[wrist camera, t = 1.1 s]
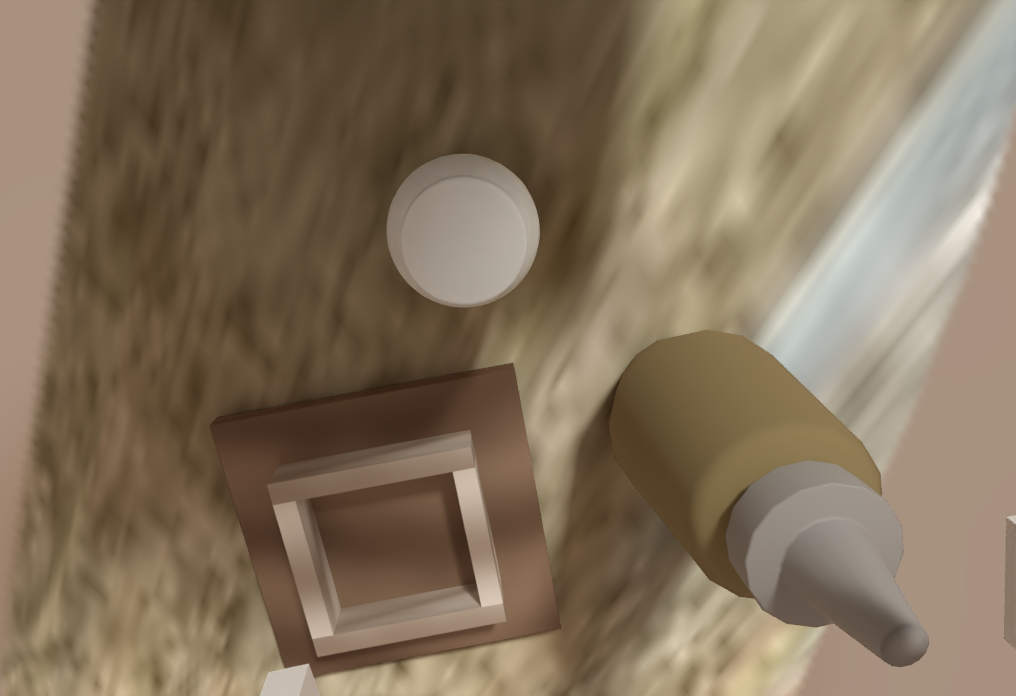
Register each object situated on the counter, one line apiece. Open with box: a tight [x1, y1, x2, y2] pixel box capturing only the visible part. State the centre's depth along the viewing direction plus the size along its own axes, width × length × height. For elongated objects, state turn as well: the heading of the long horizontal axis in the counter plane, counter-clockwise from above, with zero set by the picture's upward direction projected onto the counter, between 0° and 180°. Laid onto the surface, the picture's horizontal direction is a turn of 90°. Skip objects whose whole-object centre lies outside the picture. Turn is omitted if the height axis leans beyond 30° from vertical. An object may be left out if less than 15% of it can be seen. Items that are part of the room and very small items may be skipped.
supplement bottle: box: [387, 153, 540, 308], centre depth 26 cm, size 5×5×10 cm
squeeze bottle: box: [609, 330, 929, 667], centre depth 25 cm, size 8×8×18 cm
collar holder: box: [210, 363, 561, 675], centre depth 33 cm, size 14×14×3 cm
